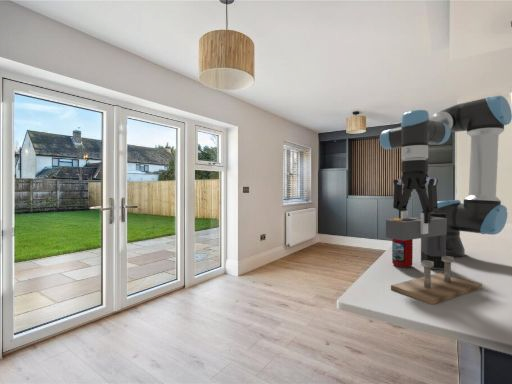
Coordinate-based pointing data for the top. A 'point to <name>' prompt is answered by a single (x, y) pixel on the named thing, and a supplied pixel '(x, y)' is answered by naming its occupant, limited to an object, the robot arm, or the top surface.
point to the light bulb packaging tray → (414, 228)
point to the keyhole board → (436, 284)
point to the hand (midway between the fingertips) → (414, 231)
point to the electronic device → (434, 247)
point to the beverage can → (402, 252)
